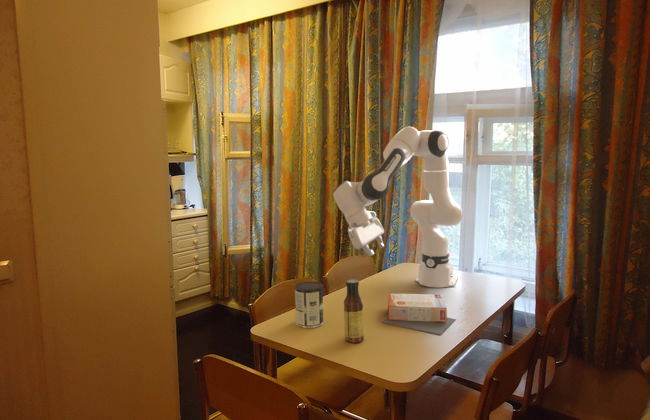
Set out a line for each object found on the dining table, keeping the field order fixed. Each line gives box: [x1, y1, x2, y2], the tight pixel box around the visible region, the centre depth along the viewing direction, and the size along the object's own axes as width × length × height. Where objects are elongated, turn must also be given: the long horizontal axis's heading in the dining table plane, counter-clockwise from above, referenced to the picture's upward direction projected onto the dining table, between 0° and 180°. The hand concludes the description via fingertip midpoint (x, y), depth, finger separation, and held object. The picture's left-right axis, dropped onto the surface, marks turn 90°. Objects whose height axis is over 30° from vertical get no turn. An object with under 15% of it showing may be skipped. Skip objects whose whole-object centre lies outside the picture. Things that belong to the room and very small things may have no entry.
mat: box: [380, 316, 456, 336], centre depth 157 cm, size 16×22×1 cm
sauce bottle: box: [343, 279, 365, 344], centre depth 141 cm, size 6×6×20 cm
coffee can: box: [294, 281, 325, 329], centre depth 156 cm, size 10×10×14 cm
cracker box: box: [387, 292, 448, 322], centre depth 162 cm, size 14×6×21 cm
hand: (377, 251), depth 167 cm, fingers open, 8 cm apart
